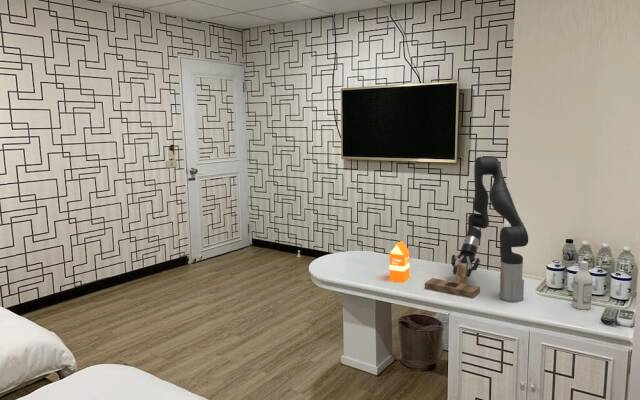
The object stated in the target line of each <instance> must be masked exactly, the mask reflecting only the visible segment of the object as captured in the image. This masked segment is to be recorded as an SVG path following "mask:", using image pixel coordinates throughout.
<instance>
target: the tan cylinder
mask: <svg viewBox="0 0 640 400" xmlns="http://www.w3.org/2000/svg"><path fill="white" fill-rule="evenodd" d="M468 269H469V266H468V264H466V263H459V264H457V273H456V282H457V283H463V284H468V278H469V277H467V276H466V274H467V271H468Z"/></svg>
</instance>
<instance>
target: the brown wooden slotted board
mask: <svg viewBox="0 0 640 400" xmlns="http://www.w3.org/2000/svg"><path fill="white" fill-rule="evenodd" d="M424 290H428V291H433V292H440V293H444V294H449V295H453V296H458V297H459V296H460V297H465V298H469V299H474V298H476V297H477V296H478V295H479V294H480V293H481V286H478V285H473V284H468V283H467V284H463V283H457V281H451V280H445V279H440V278H434V277H432V278H430V279H428V280H426V281H425V282H424Z"/></svg>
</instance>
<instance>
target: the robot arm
mask: <svg viewBox="0 0 640 400" xmlns="http://www.w3.org/2000/svg"><path fill="white" fill-rule="evenodd" d="M473 167H474V169H473V170H474V171H473V174H474V176H473V177H474V180H473V181H474V198H473V208H472V209H473V211H475V212H472V213H470V214H469V216H468V219H467V224H468V226H467V232H466V234H465V238H464V239H463V243H462V245H461V248H460V250H459V251H460V252H459V254H458V255H456V254H452V257H451V258H452V259H451V262H450V264H451V266H452V267H453V269H452V274H453V275H454V276H457V264H459V263H466V264H468V271H467V274H466V276H467V277H468V278H469V277H471V275H472V271H477V270H478V267H479V266H480V263H481V260H480V258H479V257H477V258H476V255H477V251H478V249H479V245H480V240H481V238H482V235H483V234H482V231H481V230H480V229H487V228H488V226H489V224H490V218H489V213H488V212H489V211H488V205H489V200H490V203H491V206H492V207H493V209H494V211H495V212H496V213H498V215H500V216H501V217H503V219H505V220H506V221H507V222H508V223H509V225H510V226H504V227H502V228H501V230H500V233H499V254H500V273H499V274H500V275H499V276H500V277H499V298H500V299H501V300H503V301H506V302H511V303H517V302H521V301H524V294H525V293H524V289H525V280H524V279H523V270H524V269H523V267H524V257H523V255H522V254H519V253H516V252H513V249H512V248H522V247H526V246H527V245H528V243H529V235H528V231H527V229H526V227H525V225H524V223H523V221H522V219H521V218H520V215H519V214H518V211H517V209H516V206H515V204H514V201H513V198H512V195H511V193H510V191H509V188H508V187H507V183H506V181H505V179H504V175H503V171H502V168H501V164H500V161H499V159H498V157H496V156H494V155H489V156H487V155H486V156H485V155H484V156H478V157H477V158H475V160H474V165H473ZM489 175H490V176H492V178H493V183H492V184H491V188H490V191H489V194H488V190H487V189H486V186H485V185H484V183H483V176H489ZM472 263H474V264H472Z"/></svg>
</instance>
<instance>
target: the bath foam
mask: <svg viewBox="0 0 640 400" xmlns="http://www.w3.org/2000/svg"><path fill="white" fill-rule="evenodd" d="M588 266H589V262H588V261H586V260H580V262H579V270H577V272H576V273H575V274H574V277H573V289H572V304H571V305H572V307H574V308H575V309H577V310H584V311H585V310H590V309H592V308H591V307H592V299H593V298H592V294H593V277H592V276H591V275H592V274H590V272H589V269H588V268H589V267H588Z"/></svg>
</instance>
